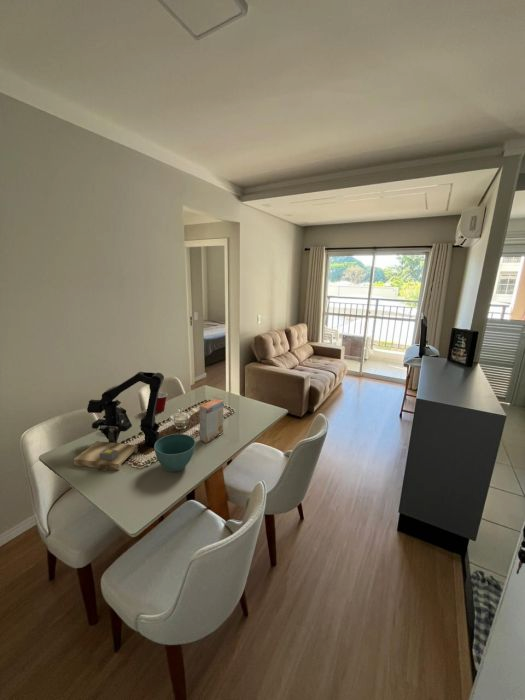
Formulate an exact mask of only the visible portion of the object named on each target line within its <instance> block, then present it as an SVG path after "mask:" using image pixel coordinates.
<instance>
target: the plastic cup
mask: <svg viewBox="0 0 525 700" xmlns="http://www.w3.org/2000/svg"><path fill="white" fill-rule="evenodd" d="M167 398H168V393H167V392H161V391H159V393H158V398H157V403H156V408H155V413H163V412H164V411H165V408H166V401H167Z"/></svg>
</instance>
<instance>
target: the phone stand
mask: <svg viewBox="0 0 525 700" xmlns="http://www.w3.org/2000/svg"><path fill="white" fill-rule="evenodd" d="M117 412H119V413H121V414H124V420H120V422H118V424H119V423H123V422H130V423H131V427H132V426H133V425H132V422H131V421H130V418H129V417H128V414H127V410H126V409H125V408H123V407H122V406H117ZM115 429H116V427H114V430H115Z"/></svg>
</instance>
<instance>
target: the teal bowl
mask: <svg viewBox="0 0 525 700" xmlns="http://www.w3.org/2000/svg"><path fill="white" fill-rule="evenodd" d="M153 448H154V453H155V456H156V459H157V460H158V463H159V464H160V466H161V467H162V468H164V469H165V470H166V471H167V472H170V473H176V472H180V471H182V470H183V469H184V468H185V467H186V466H187V465H188V464H189V463H190V461H191V459H192V457H193V455H194V452H195V448H196V440H195V439H194V437H193V436H191V435H188V434H184V433H183V434H182V433H172V434H169V435H168V434H167V435H165V436H163V437H161V438H159V440H158V441H157V442H156V443H155V446H154V447H153Z"/></svg>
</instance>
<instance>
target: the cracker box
mask: <svg viewBox="0 0 525 700" xmlns="http://www.w3.org/2000/svg"><path fill="white" fill-rule="evenodd" d="M198 408H199V410H198V411H199V441H201V440H202V442H203V441H204V443H206V444H207V442H208V443H209V442H211V441H212V440H211V439H213V438H214V437H216V436H218V435H219V434H221V433H222V432H223V433H224V400H221V399H218V398H215V399H213V400H210V401H207V402H206V403H203V404H201V405H199V407H198ZM221 435H222V434H221ZM219 436H220V435H219ZM219 436H218V437H219ZM216 438H217V437H216ZM214 439H215V438H214ZM214 439H213V440H214ZM210 440H211V441H210Z"/></svg>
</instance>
